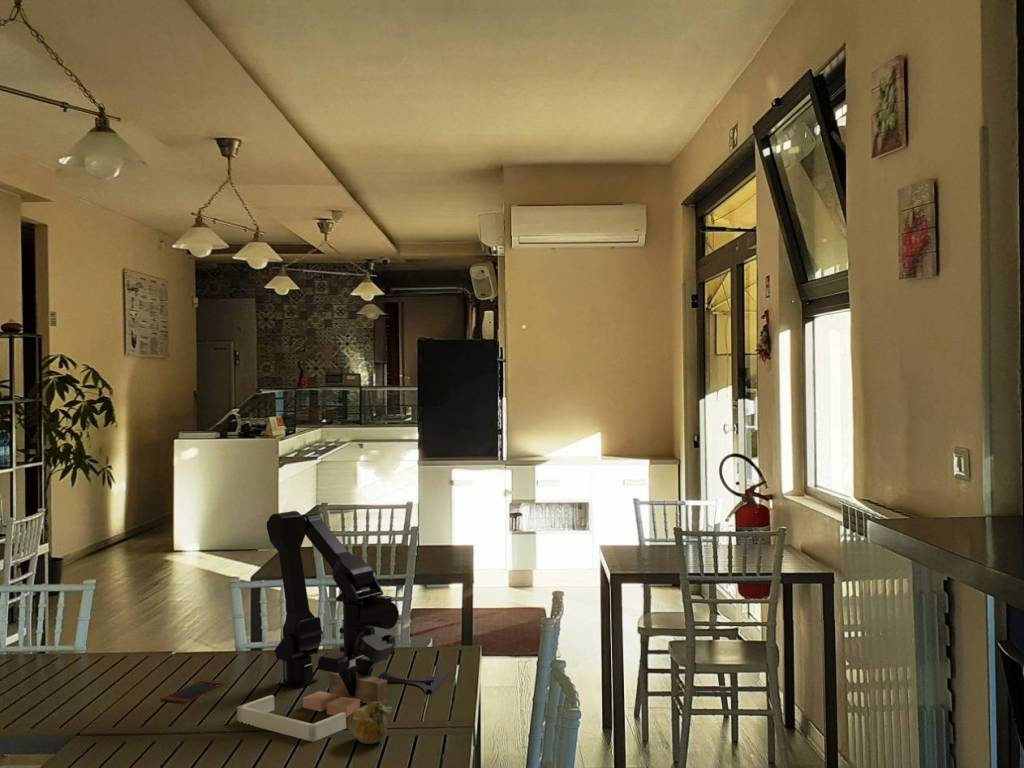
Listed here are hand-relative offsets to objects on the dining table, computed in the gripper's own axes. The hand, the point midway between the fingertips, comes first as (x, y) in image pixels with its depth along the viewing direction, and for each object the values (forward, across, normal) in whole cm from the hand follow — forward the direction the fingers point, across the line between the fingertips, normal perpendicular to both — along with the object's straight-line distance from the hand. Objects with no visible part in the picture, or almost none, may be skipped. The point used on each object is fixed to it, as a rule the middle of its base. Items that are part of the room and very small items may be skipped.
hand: (358, 694), depth 221 cm
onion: (+1, -18, -20) cm, 27 cm away
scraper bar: (+1, 0, 0) cm, 1 cm away
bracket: (+2, +15, -2) cm, 15 cm away
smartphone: (+2, -16, +35) cm, 39 cm away
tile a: (+1, -8, +4) cm, 9 cm away
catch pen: (+1, -20, 0) cm, 20 cm away
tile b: (+1, -8, -4) cm, 9 cm away
